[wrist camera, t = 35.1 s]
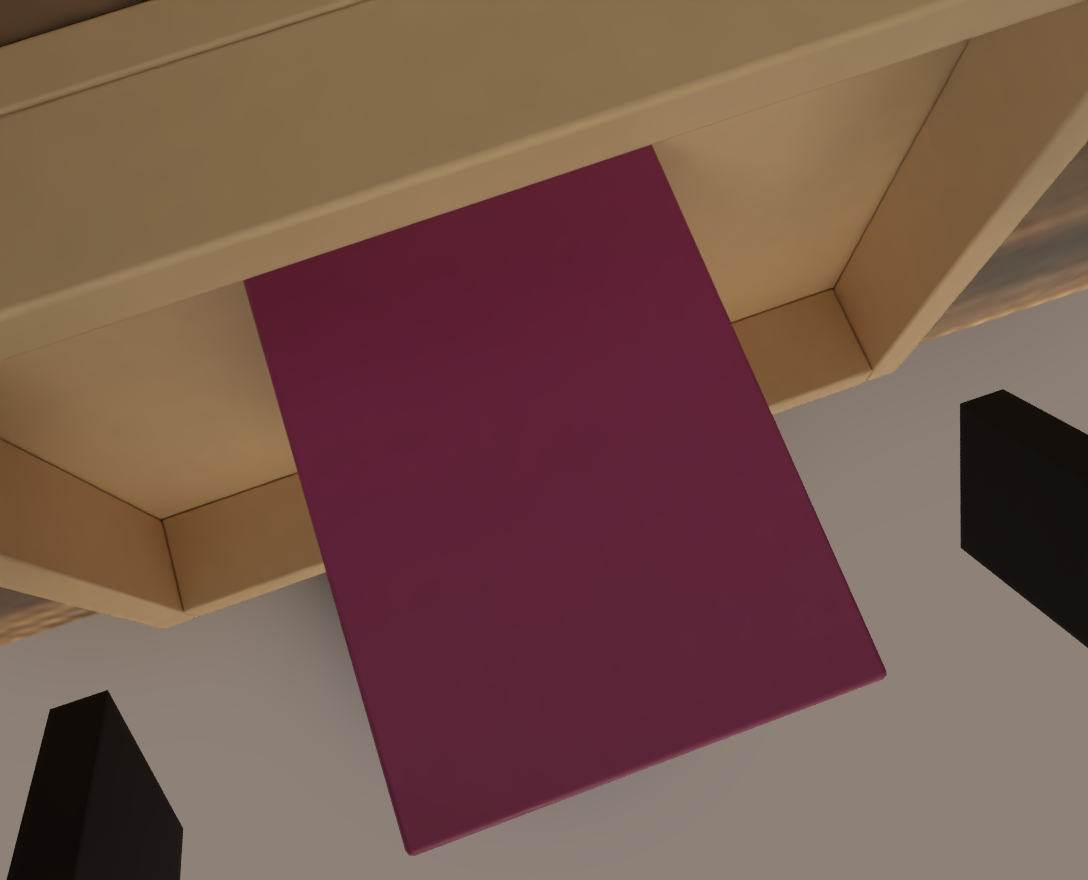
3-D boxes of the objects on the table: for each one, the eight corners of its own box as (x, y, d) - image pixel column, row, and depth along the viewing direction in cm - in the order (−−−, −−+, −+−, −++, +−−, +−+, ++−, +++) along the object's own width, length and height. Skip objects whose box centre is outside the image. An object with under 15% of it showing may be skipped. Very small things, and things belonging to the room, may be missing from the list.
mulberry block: (304, 405, 19) (429, 832, 16) (231, 243, 13) (406, 858, 11) (599, 318, 20) (756, 710, 17) (649, 134, 14) (891, 675, 12)
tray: (134, 505, 23) (162, 630, 22) (-476, 192, 10) (-463, 470, 9) (842, 262, 24) (896, 372, 23) (1150, -318, 11) (1303, -113, 10)
